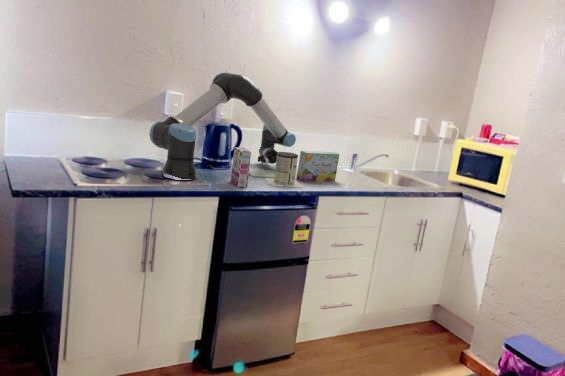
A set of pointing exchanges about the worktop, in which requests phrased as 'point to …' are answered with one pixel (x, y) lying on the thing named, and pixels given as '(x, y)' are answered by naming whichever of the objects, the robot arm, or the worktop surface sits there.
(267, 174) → the sage board
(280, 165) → the coffee can
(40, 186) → the worktop surface
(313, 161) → the snack box
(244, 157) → the candy bar box
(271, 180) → the tile
